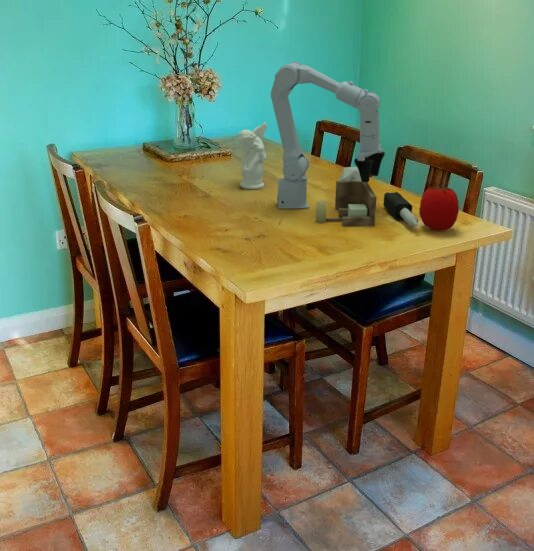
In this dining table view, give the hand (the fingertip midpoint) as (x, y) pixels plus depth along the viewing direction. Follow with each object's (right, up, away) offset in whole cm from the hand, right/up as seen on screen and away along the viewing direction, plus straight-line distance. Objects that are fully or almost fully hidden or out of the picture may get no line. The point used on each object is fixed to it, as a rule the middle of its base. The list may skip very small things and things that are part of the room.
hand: (369, 178), depth 213 cm
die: (-2, 0, +27) cm, 27 cm away
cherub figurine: (-38, +2, +32) cm, 50 cm away
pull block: (-10, -13, -4) cm, 17 cm away
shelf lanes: (-6, -12, 0) cm, 13 cm away
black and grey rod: (+8, -6, +8) cm, 13 cm away
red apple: (+18, -16, -10) cm, 26 cm away
